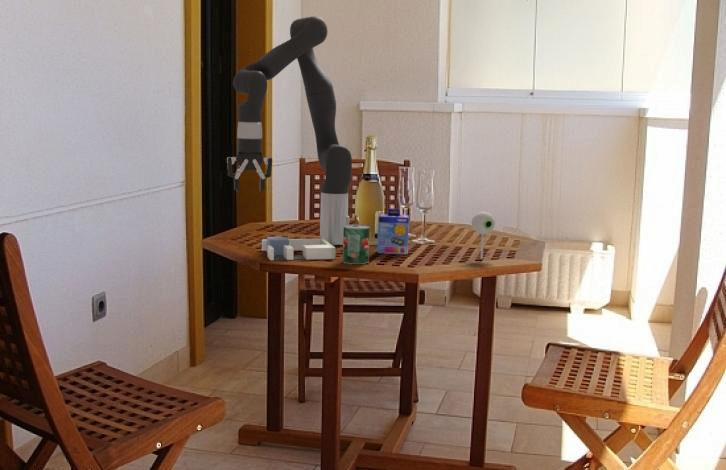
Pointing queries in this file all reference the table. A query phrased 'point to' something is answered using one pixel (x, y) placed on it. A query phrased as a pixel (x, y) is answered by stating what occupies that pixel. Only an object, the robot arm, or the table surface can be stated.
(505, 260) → the table surface
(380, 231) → the ink cartridge box
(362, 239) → the canned tomato
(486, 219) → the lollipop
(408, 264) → the table surface
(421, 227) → the table surface
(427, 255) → the table surface
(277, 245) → the block
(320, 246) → the white open shelf
